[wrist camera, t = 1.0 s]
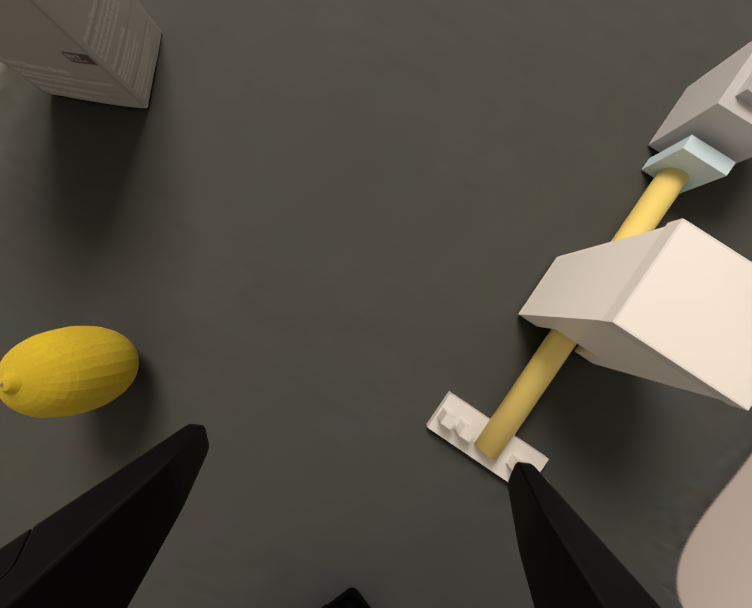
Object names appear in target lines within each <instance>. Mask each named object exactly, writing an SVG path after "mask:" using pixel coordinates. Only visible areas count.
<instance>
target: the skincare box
mask: <svg viewBox="0 0 752 608" xmlns="http://www.w3.org/2000/svg"><path fill="white" fill-rule="evenodd" d="M160 39H161V30H160V29H159V28H158V27H157V25H156V24H155V23H154V21H153V20H152V19H151V17H150V16H149V15H148V14H147V12H146V11H145V9H144V8H143V7H142V5H141V4H140V2H139V1H138V0H0V61H1V62H2V63H4V64H5V65H6V66H8V67H9V68H11V69H12V70H14V71H15V72H17V73H18V74H19V75H21V76H22V77H24V78H25V79H27V80H28V81H29V82H31V83H32V84H34V85H35V86H36V87H38V88H39V89H41V90H42V91H44V92H47V93H49V94H51V95H61V96H66V97H71V98H76V99H81V100H87V101H93V102H99V103H105V104H112V105H119V106H127V107H136V108H147V107H148V103H149V97H150V92H151V86H152V81H153V76H154V71H155V66H156V61H157V56H158V51H159V45H160Z"/></svg>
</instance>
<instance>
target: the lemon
mask: <svg viewBox="0 0 752 608" xmlns="http://www.w3.org/2000/svg"><path fill="white" fill-rule="evenodd" d="M138 367H139V357H138V353H137V350H136V349H135V347H134V345H133V344H132V343H131V342H130V341H129V340H128V339H127V338H126V337H125V336H123V335H121V334H120V333H118V332H116V331H113V330H110V329H106V328H103V327H97V326H70V327H64V328H59V329H55V330H51V331H47V332H44V333H40V334H37V335H35V336H32V337H30V338H28V339H26V340H25V341H23V342H21V343H19V344H17V345H16V346H15V347H13V348H12V349H11V350H10V351H9V352H8V353H7V354H6V355H5V356H4V357H3V359H2V360H1V362H0V398H1V400H2V401H3V402H4V403H5V404H6V405H7V406H9V407H10V408H11V409H13V410H15V411H17V412H19V413H21V414H24V415H27V416H33V417H39V418H54V417H63V416H71V415H77V414H81V413H85V412H88V411H91V410H93V409H96V408H99V407H101V406H104V405H106V404H108V403H109V402H111V401H113V400H114V399H116V398H117V397H118V396H120V395H121V394H122V393H124V392H125V391H126V390H127V389H128V387H129V386H130V385H131V384H132V382H133V381H134V379H135V377H136V375H137V372H138Z"/></svg>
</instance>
